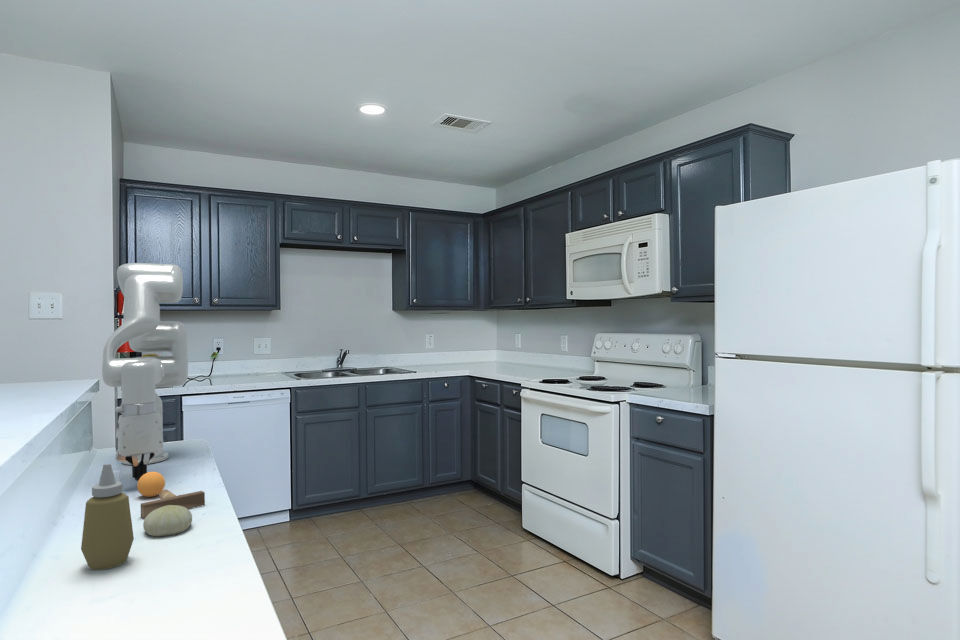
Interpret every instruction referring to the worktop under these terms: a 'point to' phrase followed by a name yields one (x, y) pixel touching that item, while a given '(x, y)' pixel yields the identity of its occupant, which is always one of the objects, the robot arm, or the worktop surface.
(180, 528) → the sea urchin shell
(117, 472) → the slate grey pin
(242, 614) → the worktop surface
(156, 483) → the ball
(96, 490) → the squeeze bottle
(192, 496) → the back wall
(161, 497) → the maple pin
